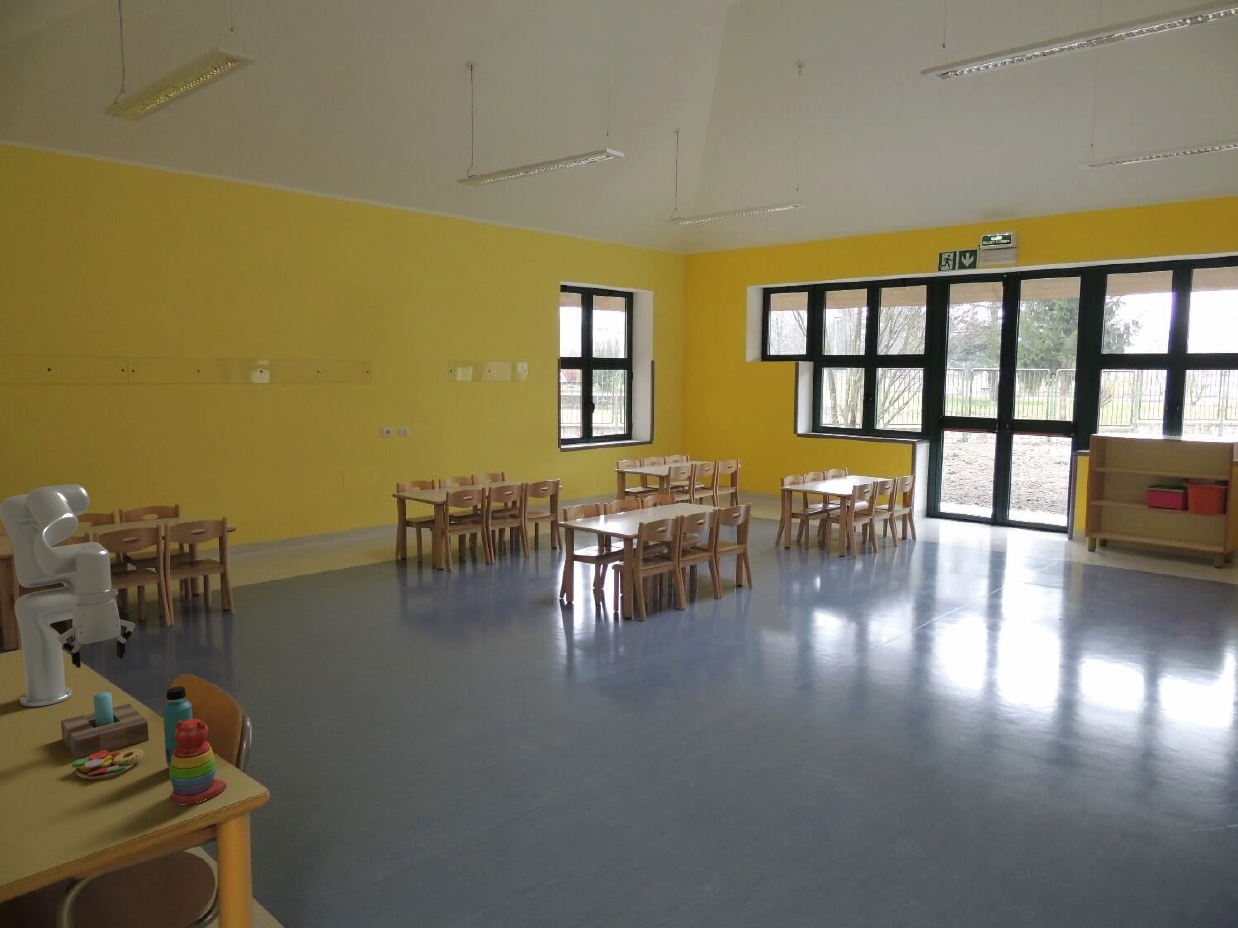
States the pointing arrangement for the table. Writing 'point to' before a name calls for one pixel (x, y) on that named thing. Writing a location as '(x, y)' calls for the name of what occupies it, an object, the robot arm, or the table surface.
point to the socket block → (104, 732)
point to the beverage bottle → (174, 717)
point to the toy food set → (106, 764)
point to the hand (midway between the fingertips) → (99, 661)
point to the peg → (103, 709)
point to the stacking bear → (193, 764)
